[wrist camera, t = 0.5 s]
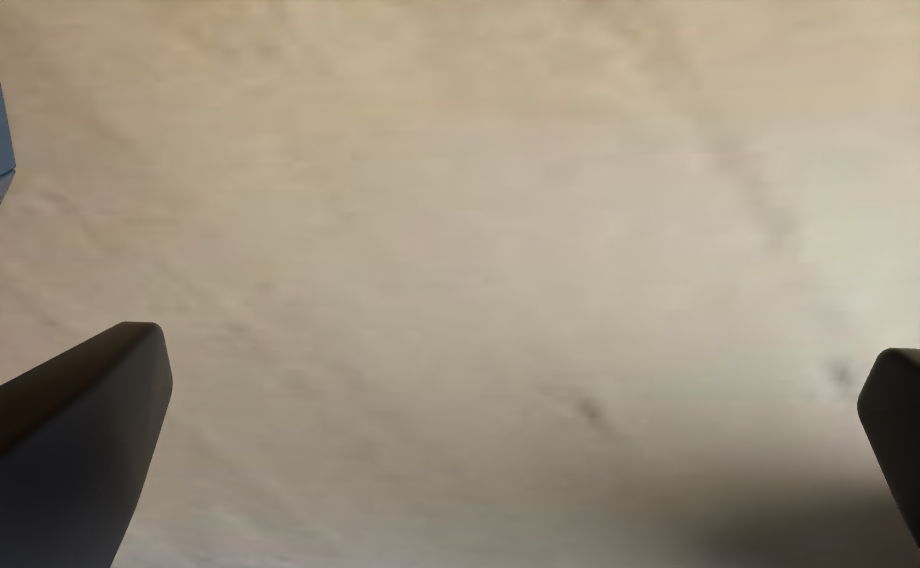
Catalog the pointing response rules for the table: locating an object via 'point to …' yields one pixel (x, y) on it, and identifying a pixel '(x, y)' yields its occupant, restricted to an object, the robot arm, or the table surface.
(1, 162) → the cover
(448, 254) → the table surface
